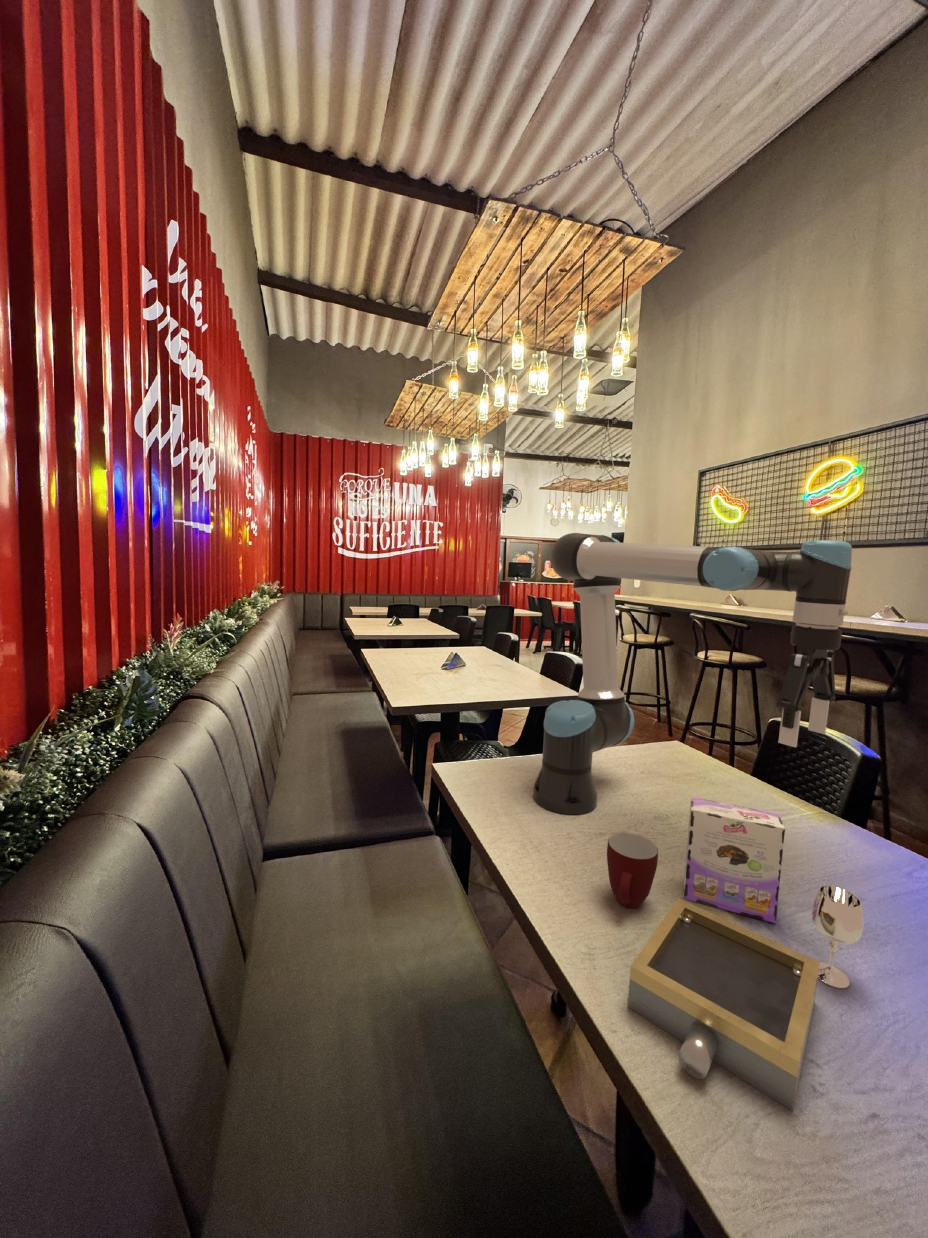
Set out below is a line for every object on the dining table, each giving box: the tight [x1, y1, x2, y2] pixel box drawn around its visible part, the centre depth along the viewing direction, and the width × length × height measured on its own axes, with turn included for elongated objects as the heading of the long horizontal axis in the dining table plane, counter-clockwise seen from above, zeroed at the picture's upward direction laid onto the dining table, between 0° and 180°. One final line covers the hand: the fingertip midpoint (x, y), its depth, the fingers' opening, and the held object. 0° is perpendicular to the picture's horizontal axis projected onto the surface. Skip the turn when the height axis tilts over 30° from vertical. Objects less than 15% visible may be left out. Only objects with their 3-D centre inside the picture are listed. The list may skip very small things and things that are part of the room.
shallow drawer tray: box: [627, 897, 821, 1112], centre depth 63 cm, size 18×22×6 cm
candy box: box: [682, 796, 786, 924], centre depth 84 cm, size 14×6×16 cm, turn 66°
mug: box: [606, 832, 659, 909], centre depth 83 cm, size 10×8×10 cm
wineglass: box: [811, 884, 864, 989], centre depth 70 cm, size 6×6×12 cm
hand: (802, 738), depth 93 cm, fingers open, 13 cm apart
